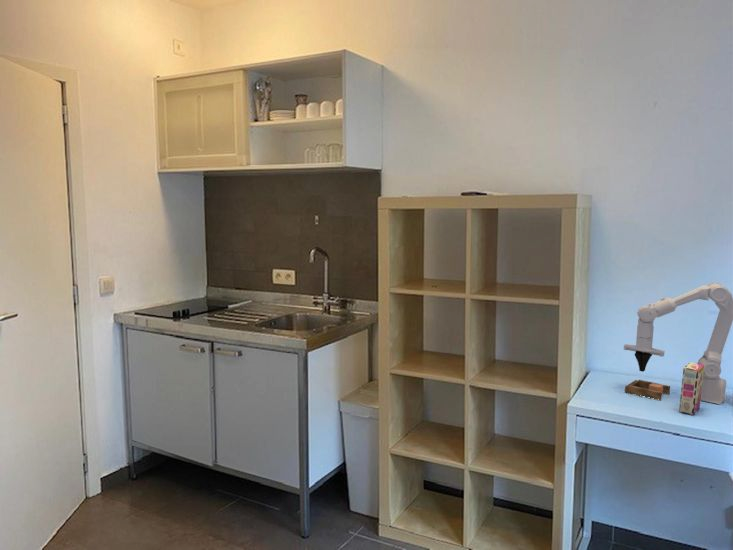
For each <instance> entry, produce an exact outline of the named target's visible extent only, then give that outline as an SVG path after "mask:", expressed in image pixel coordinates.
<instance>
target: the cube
mask: <svg viewBox="0 0 733 550" xmlns="http://www.w3.org/2000/svg"><path fill="white" fill-rule="evenodd" d="M655 383H656V382H653V383H651V384H650V385H649V389H650V390H654V391H659V392H662V394H664V393H663V385H664V384H663V385H660V384H661V383H658V384H655Z"/></svg>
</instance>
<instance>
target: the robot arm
mask: <svg viewBox="0 0 733 550" xmlns="http://www.w3.org/2000/svg"><path fill="white" fill-rule="evenodd" d="M709 299H710V300H711V301H713V302H714V304H715V306H717V308H718V309H719V311H718V315H717V317H716V320H715V323H714V327H713V329H712V332H711V335H710V338H709V342H708V345H707V348H706V350H705V351H704V352H703V354H702V356H701V357H700V358H698V362H697V363H699V364H704V371H703V381H702V390H701V399H700V401H703V402H707V403H711V404H716V405H721V404H722V403H723V402H724V401H725V400H726V389H727V380H726V379H725V378H721V377H720V375H721V373H722V367H721V364H722V354H723V351H724V349H725V345H726V343H727V339H728V335H729V333H730V330H731V328H732V324H733V294H732V293H731V291H730V290H729V289H728V288H727V287H726V286H724V285H722V284H721V283H719V282H710V283H709V284H704V285H701V286H699V287H696V288H695V289H692V290H690V291H687V292H685V293H683V294H681V295H678V296H676V297H674V298H670V297H663V296H662V297H661V298H660V299H659V300H658V301H655V302H653V303H651V302H649V303H647V305H642V306H640V307H639V308H638V310H637V316H638V320H637V327H636V328H637V329H636V338H635V340H636V342H635V345H633V344H624V345H623V351H631V352H635V353H634V356H635V359H636V361H637V365H638V369H639V372H643V373H644V372H645V371H646V367H647V364H648V363H649V360H650V359H651V357H652V356H659V357H662V358H663V357H664V356H665V350H663V349H662V350H661V349H657V348H653V340H654V339H653V338H654V328H655V327H654V321H655V320H656V318H660V317H663V316H666V315H668V314H671V313H674V312H675V311H676V309H677V308H678V307H679V306H682V305H685V304H688V303H691V302H694V301H696V300H703V301H709Z"/></svg>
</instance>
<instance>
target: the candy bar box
mask: <svg viewBox="0 0 733 550" xmlns="http://www.w3.org/2000/svg"><path fill="white" fill-rule="evenodd" d="M682 371H683V372H682V379H681V380H682V381H681V388H680V389H681V390H680V400H679V409H678V412H679V413H682V414H685V415H690V416H694V415H695V413H696V412H697V411H698V410H699V409H700V407H701V400H700V399H701V390H702V381H703V371H704V364H699V363H698V362H691V361H690V362H689V363H688V364H686V365H684V367H683V369H682Z"/></svg>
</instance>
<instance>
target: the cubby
mask: <svg viewBox="0 0 733 550" xmlns="http://www.w3.org/2000/svg"><path fill="white" fill-rule="evenodd" d="M651 383H655V384H660V385H663V392H664V393H663V394H665V393H668V394H667V395H670V394H669V393H671V385H667V384H662V383H657V382H652V381H648V380H644V379H638V380H637V379H635V380H633V381H632V382H630V383H628V384H626V385H625V386H624V393H625V392H626V394H629V393H631V394H630V395H633V394H636V395H635V396H638V395H641V396H640V397H642V396H645V397H644V398H647V397H650V398H649V399H651V398H654V399H653V400H655V399H659V400H658V401H662V396H663V395H662V392H659V391H654V390H650V389H649V385H650V384H651Z"/></svg>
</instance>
